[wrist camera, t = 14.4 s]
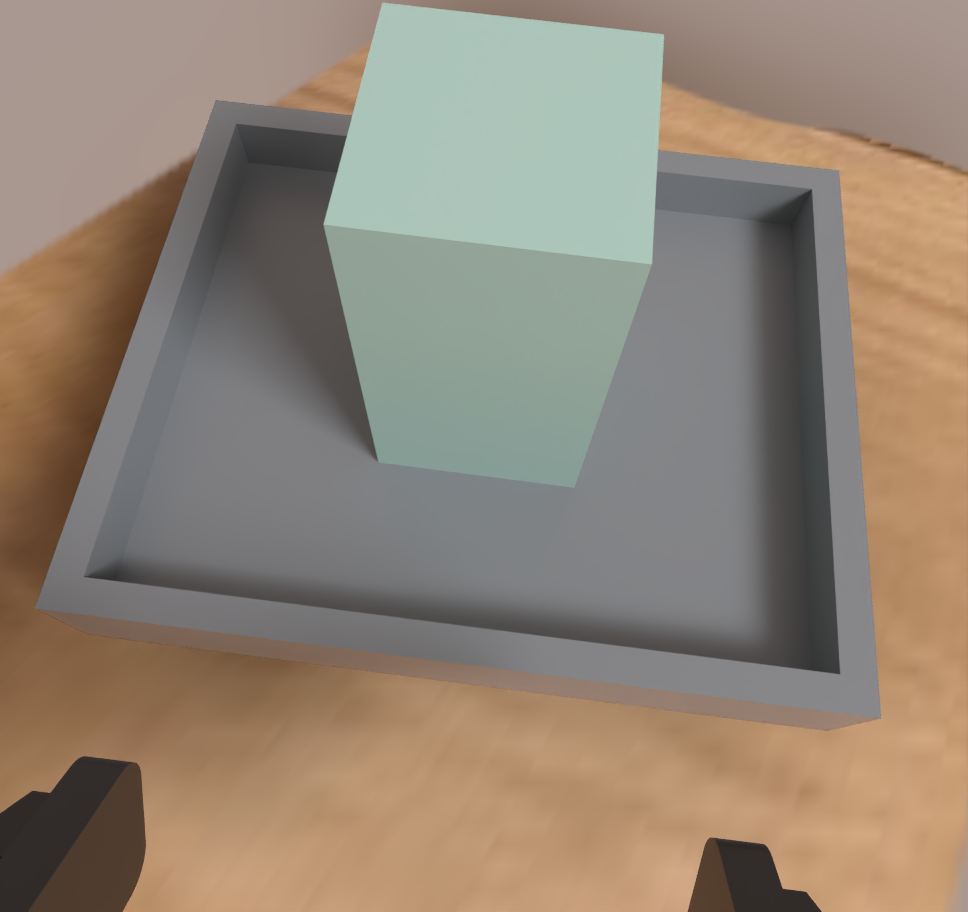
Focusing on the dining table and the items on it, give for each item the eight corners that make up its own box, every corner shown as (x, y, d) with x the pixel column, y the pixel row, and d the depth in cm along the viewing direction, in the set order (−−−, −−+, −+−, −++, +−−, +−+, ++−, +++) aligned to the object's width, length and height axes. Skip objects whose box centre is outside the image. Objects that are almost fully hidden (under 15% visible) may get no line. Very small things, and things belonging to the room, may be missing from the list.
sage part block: (378, 462, 20) (323, 224, 12) (410, 299, 22) (382, 2, 14) (574, 487, 20) (651, 264, 12) (589, 321, 22) (664, 34, 14)
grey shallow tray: (133, 656, 22) (34, 608, 17) (260, 230, 29) (215, 100, 23) (781, 741, 22) (881, 718, 17) (768, 290, 28) (839, 170, 23)
